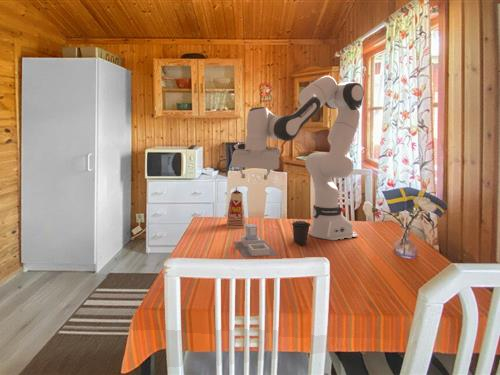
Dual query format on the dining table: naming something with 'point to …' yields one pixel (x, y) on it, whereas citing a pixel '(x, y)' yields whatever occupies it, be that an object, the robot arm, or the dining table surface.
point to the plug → (251, 232)
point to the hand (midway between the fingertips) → (254, 178)
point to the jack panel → (254, 247)
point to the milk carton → (236, 211)
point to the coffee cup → (300, 232)
